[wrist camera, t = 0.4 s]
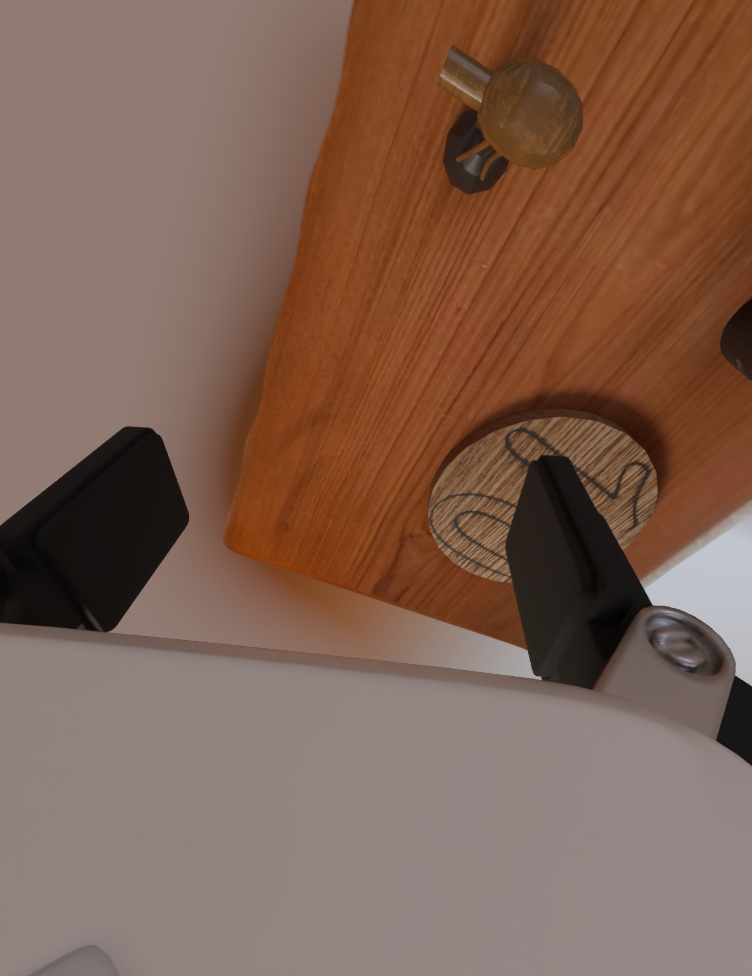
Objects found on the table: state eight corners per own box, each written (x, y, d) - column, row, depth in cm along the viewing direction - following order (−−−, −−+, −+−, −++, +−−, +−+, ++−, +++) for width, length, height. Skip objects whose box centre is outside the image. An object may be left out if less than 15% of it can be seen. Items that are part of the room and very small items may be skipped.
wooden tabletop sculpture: (419, 165, 29) (413, 136, 13) (451, 84, 27) (492, -71, 11) (487, 205, 30) (556, 223, 14) (525, 131, 28) (660, 54, 12)
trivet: (519, 363, 37) (523, 370, 36) (703, 476, 43) (713, 486, 41) (391, 526, 52) (390, 536, 50) (541, 595, 57) (544, 606, 55)
